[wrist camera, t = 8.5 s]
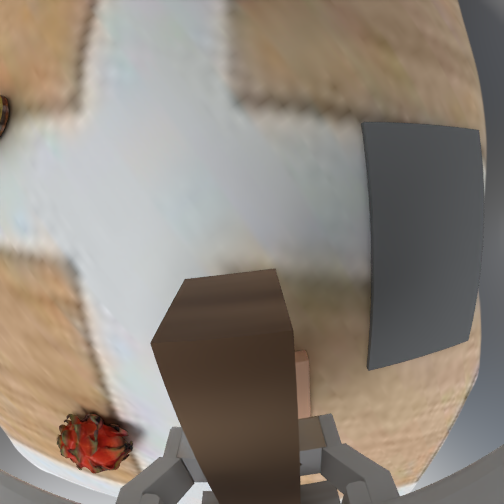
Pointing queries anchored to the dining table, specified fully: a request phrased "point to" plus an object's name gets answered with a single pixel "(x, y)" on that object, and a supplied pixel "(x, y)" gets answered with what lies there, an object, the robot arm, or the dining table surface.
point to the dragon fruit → (93, 443)
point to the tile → (302, 384)
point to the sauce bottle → (3, 113)
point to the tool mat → (422, 237)
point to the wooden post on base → (237, 388)
